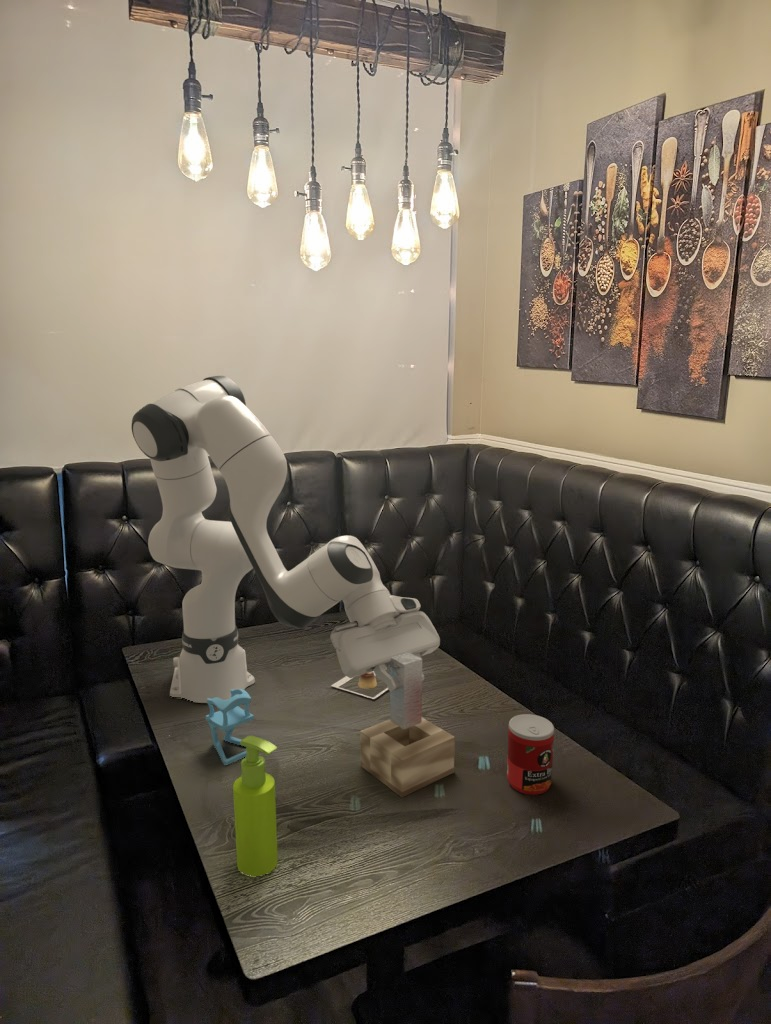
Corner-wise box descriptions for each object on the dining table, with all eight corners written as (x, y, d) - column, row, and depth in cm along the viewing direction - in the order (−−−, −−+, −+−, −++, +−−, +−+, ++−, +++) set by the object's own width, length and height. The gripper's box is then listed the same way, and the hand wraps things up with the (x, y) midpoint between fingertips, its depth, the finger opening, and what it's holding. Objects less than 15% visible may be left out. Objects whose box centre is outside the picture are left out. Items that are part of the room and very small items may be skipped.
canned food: (525, 800, 117) (528, 741, 115) (497, 776, 124) (499, 719, 122) (561, 788, 121) (564, 730, 119) (531, 765, 128) (534, 709, 125)
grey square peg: (389, 720, 124) (390, 657, 122) (407, 714, 127) (407, 651, 124) (403, 729, 121) (404, 664, 119) (421, 722, 124) (422, 658, 121)
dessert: (330, 690, 159) (330, 670, 158) (361, 671, 168) (361, 652, 167) (374, 703, 152) (374, 683, 151) (403, 683, 162) (403, 663, 161)
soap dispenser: (264, 886, 98) (259, 757, 94) (228, 867, 102) (221, 743, 98) (291, 861, 103) (287, 738, 99) (256, 844, 107) (250, 725, 103)
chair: (236, 734, 139) (233, 678, 136) (261, 750, 133) (258, 691, 130) (202, 749, 133) (198, 691, 131) (225, 766, 128) (222, 705, 125)
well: (360, 765, 128) (360, 730, 126) (411, 744, 135) (411, 710, 133) (402, 797, 118) (402, 760, 117) (453, 772, 126) (454, 736, 124)
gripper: (333, 620, 119) (367, 694, 114) (424, 597, 132) (459, 663, 126) (319, 637, 124) (351, 709, 118) (409, 613, 136) (442, 677, 130)
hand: (408, 685), depth 122 cm, fingers closed on grey square peg, 4 cm apart
